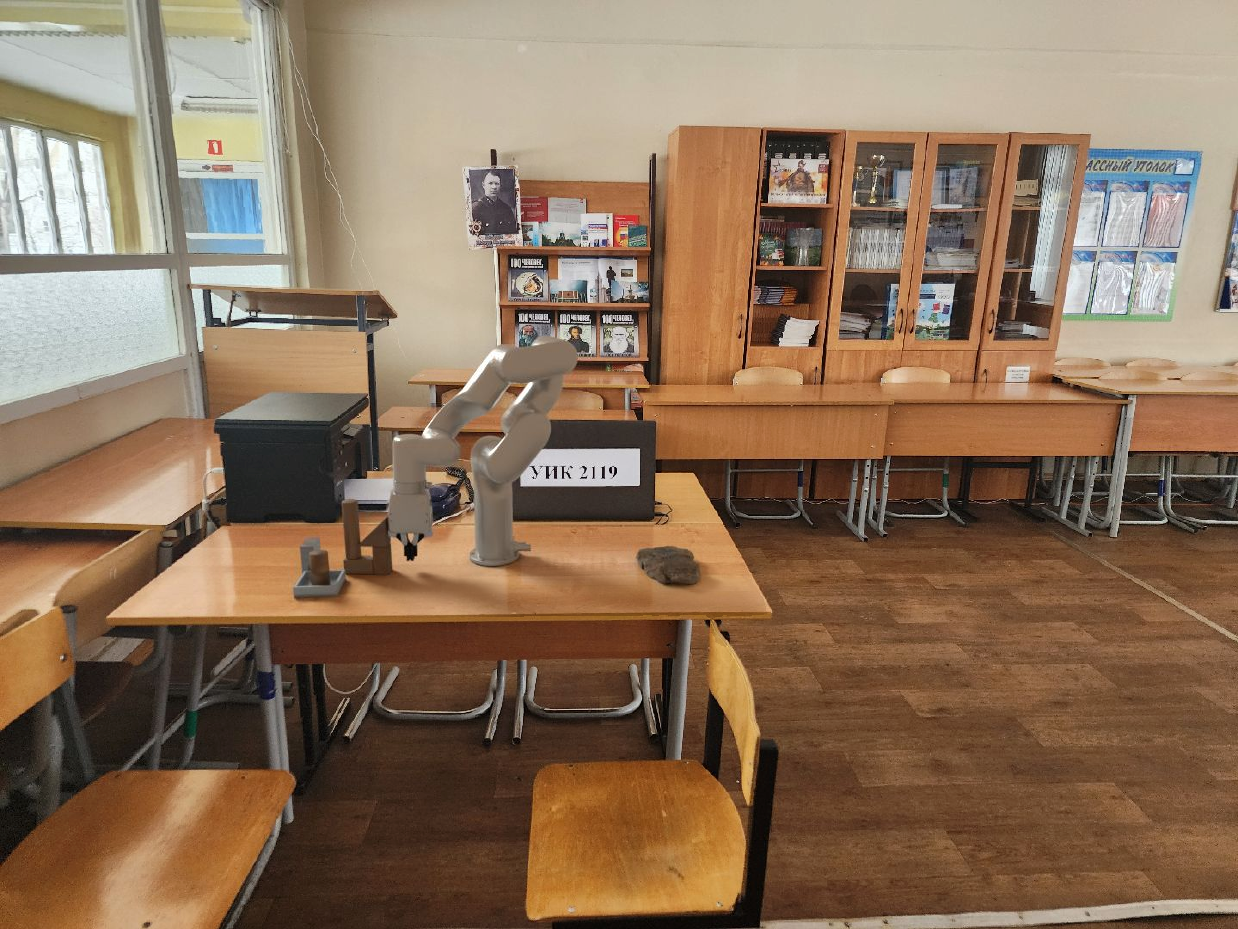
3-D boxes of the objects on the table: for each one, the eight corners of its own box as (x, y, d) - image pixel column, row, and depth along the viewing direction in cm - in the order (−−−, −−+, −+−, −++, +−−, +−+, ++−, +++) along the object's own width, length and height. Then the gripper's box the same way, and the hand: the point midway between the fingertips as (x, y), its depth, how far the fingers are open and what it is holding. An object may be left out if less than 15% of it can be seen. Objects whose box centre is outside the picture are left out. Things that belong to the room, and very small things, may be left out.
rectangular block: (322, 568, 183) (319, 537, 181) (316, 578, 177) (313, 546, 175) (309, 568, 182) (306, 537, 180) (302, 578, 177) (299, 546, 175)
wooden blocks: (388, 575, 180) (383, 504, 175) (343, 574, 180) (338, 503, 175) (393, 569, 183) (388, 499, 178) (349, 568, 183) (344, 498, 179)
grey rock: (710, 588, 177) (686, 555, 196) (711, 569, 176) (687, 538, 195) (653, 593, 175) (634, 560, 193) (653, 574, 173) (634, 542, 192)
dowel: (331, 581, 174) (329, 549, 172) (328, 588, 170) (325, 555, 168) (313, 582, 173) (310, 550, 171) (310, 589, 169) (307, 556, 167)
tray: (345, 579, 177) (345, 569, 176) (336, 596, 168) (336, 586, 167) (305, 580, 175) (304, 570, 175) (293, 597, 167) (292, 587, 166)
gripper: (443, 482, 182) (443, 553, 186) (379, 481, 180) (381, 553, 184) (440, 491, 175) (440, 565, 179) (374, 490, 172) (376, 564, 177)
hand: (410, 558), depth 182 cm, fingers closed
